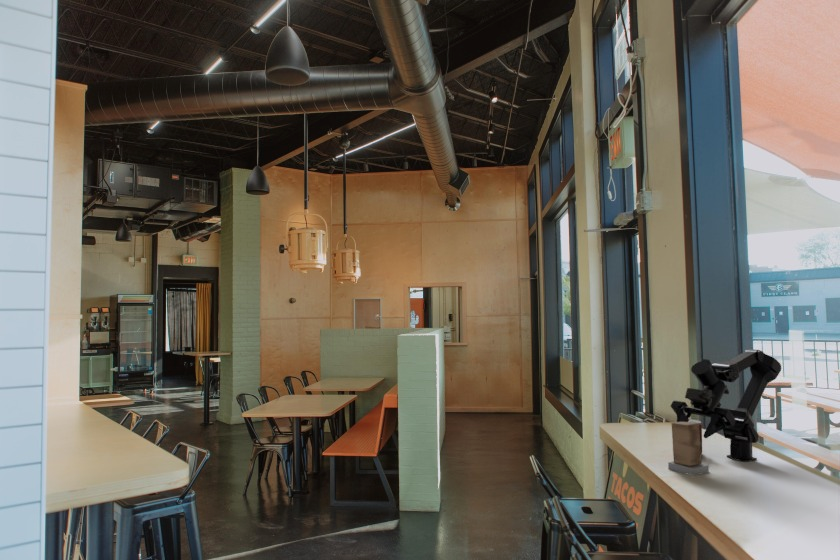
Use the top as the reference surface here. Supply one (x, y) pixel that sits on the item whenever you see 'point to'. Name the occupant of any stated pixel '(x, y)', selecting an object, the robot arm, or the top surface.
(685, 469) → the slate tile
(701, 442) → the canned food
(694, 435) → the walnut block
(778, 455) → the top surface
